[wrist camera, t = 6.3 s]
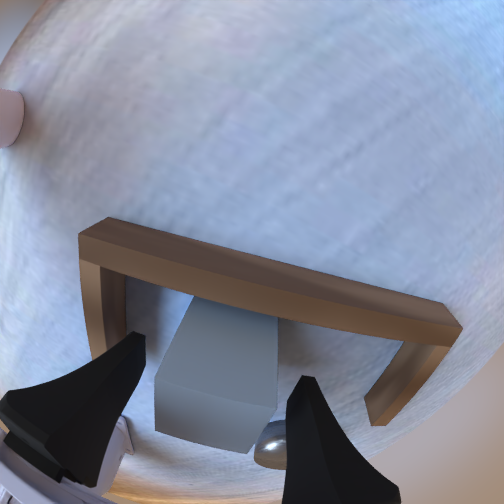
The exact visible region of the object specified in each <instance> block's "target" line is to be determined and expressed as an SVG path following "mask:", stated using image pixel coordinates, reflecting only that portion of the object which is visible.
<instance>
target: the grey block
mask: <svg viewBox="0 0 504 504" xmlns="http://www.w3.org/2000/svg"><path fill="white" fill-rule="evenodd" d="M277 383H278V317H275V316H271V315H267V314H262V313H258V312H254V311H250V310H246V309H242V308H238V307H234V306H230V305H227V304H223V303H219V302H215V301H212V300H208V299H204V298H201V297H197V296H194V297H193V299H192V301H191V303H190V305H189V307H188V309H187V311H186V313H185V315H184V317H183V319H182V321H181V323H180V325H179V328H178V330H177V332H176V334H175V336H174V338H173V340H172V342H171V344H170V346H169V348H168V350H167V352H166V354H165V356H164V358H163V361H162V363H161V365H160V367H159V369H158V371H157V373H156V375H155V384H154V407H155V431H158V432H161V433H164V434H167V435H170V436H173V437H176V438H180V439H183V440H187V441H190V442H194V443H198V444H202V445H206V446H210V447H214V448H218V449H223V450H228V451H233V452H238V453H244V454H247V453H248V452H249V450H250V449H251V448H252V446H253V445H254V443H255V442H256V440H257V439H258V437H259V436H260V434H261V433H262V431H263V430H264V428H265V427H266V425H267V424H268V422H269V421H270V419H271V418H272V416H273V414H274V413H275V411H276V410H277Z"/></svg>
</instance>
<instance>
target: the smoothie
mask: <svg viewBox="0 0 504 504" xmlns="http://www.w3.org/2000/svg"><path fill="white" fill-rule="evenodd" d="M23 118H24V101H23V97H22V95H21V94H20V93H19V92H16V91H11V90H6V89H1V88H0V149H1V148H4V147H7V146H10V145H11V144H12V143H13V142H14V141H15V140H16V138H17V137H18V135H19V132H20V130H21V127H22V123H23Z"/></svg>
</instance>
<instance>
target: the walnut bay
mask: <svg viewBox="0 0 504 504" xmlns="http://www.w3.org/2000/svg"><path fill="white" fill-rule="evenodd" d="M78 244H79V267H80V281H81V292H82V301H83V309H84V316H85V323H86V329H87V335H88V341H89V346H90V351H91V356H92V360H94V359H95V358H97V357H99V356H100V355H101V354H103V353H104V352H106V351H107V350H109V349H110V348H111V347H113V346H114V345H115V344H117V343H118V342H119V341H121V340H122V339H123V338H125V337H126V312H125V275H128V276H131V277H134V278H137V279H140V280H143V281H147V282H150V283H153V284H156V285H159V286H163V287H166V288H169V289H173V290H176V291H180V292H183V293H186V294H190V295H194V296H197V297H201V298H204V299H208V300H212V301H215V302H219V303H223V304H227V305H230V306H234V307H238V308H242V309H246V310H250V311H254V312H258V313H262V314H267V315H271V316H275V317H280V318H284V319H288V320H293V321H297V322H302V323H307V324H311V325H316V326H321V327H326V328H331V329H336V330H341V331H347V332H352V333H358V334H363V335H369V336H375V337H381V338H387V339H394V340H400V341H404V343H403V344H402V346H401V348H400V349H399V351H398V352H397V354H396V355H395V357H394V358H393V359H392V361H391V362H390V364H389V365H388V367H387V368H386V369H385V371H384V372H383V374H382V375H381V376H380V378H379V379H378V380H377V382H376V383H375V384H374V386H373V387H372V388H371V389H370V391H369V392H368V393H367V395H366V396H365V397H364V400H365V403H366V407H367V411H368V415H369V420H370V424H371V426H386V425H387V424H388V423H389V422H390V421H391V420H392V419H393V418H394V417H395V416H396V415H397V414H398V413H399V412H400V411H401V409H402V408H403V407H404V406H405V405H406V404H407V403H408V402H409V401H410V400H411V398H412V397H413V396H414V395H415V394H416V393H417V391H418V390H419V389H420V388H421V387H422V386H423V384H424V383H425V382H426V381H427V379H428V378H429V377H430V376H431V374H432V373H433V372H434V370H435V369H436V368H437V366H438V365H439V364H440V362H441V361H442V360H443V358H444V357H445V355H446V354H447V353H448V351H449V350H450V348H451V347H452V345H453V344H454V342H455V341H456V339H457V338H458V336H459V335H460V333H461V331H462V330H463V328H462V326H461V325H460V324H459V323H458V321H457V320H456V319H455V318H454V316H453V315H452V314H451V313H450V312H449V310H448V309H447V308H446V307H445V306H444V304H443V303H439V302H435V301H431V300H427V299H423V298H419V297H416V296H412V295H408V294H404V293H400V292H396V291H392V290H388V289H384V288H380V287H376V286H372V285H368V284H364V283H361V282H357V281H353V280H349V279H345V278H341V277H337V276H333V275H329V274H325V273H322V272H318V271H314V270H310V269H306V268H302V267H298V266H294V265H290V264H287V263H283V262H279V261H275V260H271V259H267V258H263V257H259V256H256V255H252V254H248V253H244V252H240V251H236V250H232V249H229V248H225V247H221V246H217V245H213V244H209V243H205V242H202V241H198V240H194V239H190V238H186V237H182V236H178V235H175V234H171V233H167V232H163V231H159V230H156V229H152V228H148V227H144V226H140V225H136V224H133V223H129V222H125V221H121V220H117V219H114V218H110V217H107V218H105V219H104V220H102V221H100V222H98V223H96V224H94V225H92V226H91V227H89V228H87V229H85V230H83V231H82V232H80V233H78Z"/></svg>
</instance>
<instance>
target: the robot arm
mask: <svg viewBox="0 0 504 504" xmlns="http://www.w3.org/2000/svg"><path fill="white" fill-rule="evenodd" d="M145 366H146V349H145V335H143V334H140V333H137V332H134V331H133V332H131V333H130V334H129V335H127V336H126V337H125V338H123V339H122V340H121V341H119V342H118V343H117V344H115V345H114V346H113V347H111V348H110V349H109V350H107V351H106V352H104V353H103V354H101V355H100V356H99V357H97V358H95V359H94V360H92V361H91V362H89V363H87V364H86V365H84V366H82V367H80V368H79V369H77V370H75V371H73V372H71V373H69V374H67V375H64V376H62V377H60V378H57V379H55V380H52V381H49V382H46V383H43V384H39V385H36V386H32V387H28V388H23V389H17V390H10V391H8V392H7V393H6V394H5V395H4V396H3V398H2V399H1V400H0V419H1V421H2V422H3V423H4V424H5V425H6V427H7V428H8V429H9V430H10V431H9V433H8V434H7V433H6V432H4V430H2V429H1V428H0V504H117V503H114V502H112V501H110V500H108V499H106V498H103V497H101V495H103V494H105V493H106V492H108V491H109V490H110V488H111V486H112V484H113V481H114V479H115V476H116V474H117V471H118V469H119V466H120V464H121V461H122V459H123V456H124V454H125V453H128V454H130V455H133V454H134V450H133V447H132V443H131V440H130V436H129V432H128V428H127V424H126V420H125V419H124V418H123V417H122V416H120V415H121V413H122V411H123V410H124V408H125V406H126V404H127V402H128V401H129V399H130V397H131V395H132V394H133V392H134V390H135V388H136V386H137V385H138V383H139V380H140V378H141V376H142V373H143V371H144V368H145ZM285 422H286V451H287V466H286V476H285V485H284V492H283V498H282V504H401V497H400V492H399V488H398V486H397V485H395V484H394V483H392V482H391V481H390V480H388V479H387V478H385V477H384V476H383V475H382V474H381V473H379V472H378V471H377V470H376V469H374V467H373V466H372V465H371V464H370V463H369V462H368V461H367V460H366V459H365V458H364V457H363V456H362V455H361V454H360V453H359V452H358V451H357V449H356V448H355V447H354V446H353V444H352V443H351V442H350V440H349V439H348V438H347V436H346V435H345V433H344V432H343V430H342V428H341V427H340V425H339V424H338V422H337V420H336V419H335V417H334V415H333V413H332V411H331V409H330V408H329V406H328V404H327V402H326V400H325V398H324V396H323V394H322V392H321V390H320V387H319V385H318V383H317V381H316V379H315V377H310V376H304V375H302V376H301V378H300V379H299V381H298V383H297V385H296V386H295V388H294V390H293V392H292V393H291V395H290V397H289V398H288V400H287V408H286V419H285Z"/></svg>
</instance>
